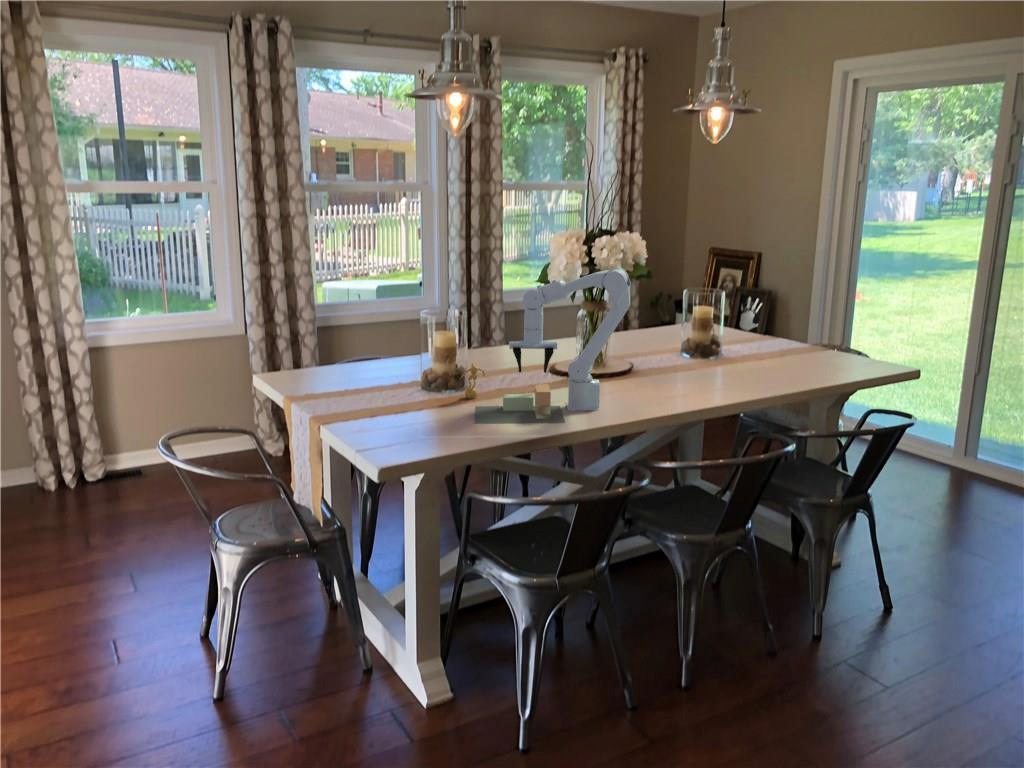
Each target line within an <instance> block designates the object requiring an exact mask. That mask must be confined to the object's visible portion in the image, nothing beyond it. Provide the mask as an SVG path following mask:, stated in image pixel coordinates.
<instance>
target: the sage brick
mask: <svg viewBox="0 0 1024 768" xmlns="http://www.w3.org/2000/svg"><path fill="white" fill-rule="evenodd" d="M502 406H503V411H530V410H533V406H534V395H533V393H531V394H530V393H528V394H527V393H526V394H525V393H517V394H516V393H514V394H513V393H510V394H509V393H508V394H506V393H504V394H503V393H502Z"/></svg>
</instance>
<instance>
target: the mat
mask: <svg viewBox="0 0 1024 768" xmlns="http://www.w3.org/2000/svg"><path fill="white" fill-rule="evenodd" d="M565 423H566V419H565V417H564V414H563V411H562V407H561V405H551V410H550V418H549V419H537V418H536V413H535V405H533V410H530V411H503V405H500V406H499V405H494V406H493V405H492V406H491V405H490V406H488V405H484V406H482V405H477V406H474V424H475V425H483V424H484V425H485V424H487V425H491V424H492V425H493V424H496V425H498V424H503V425H504V424H565Z"/></svg>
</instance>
